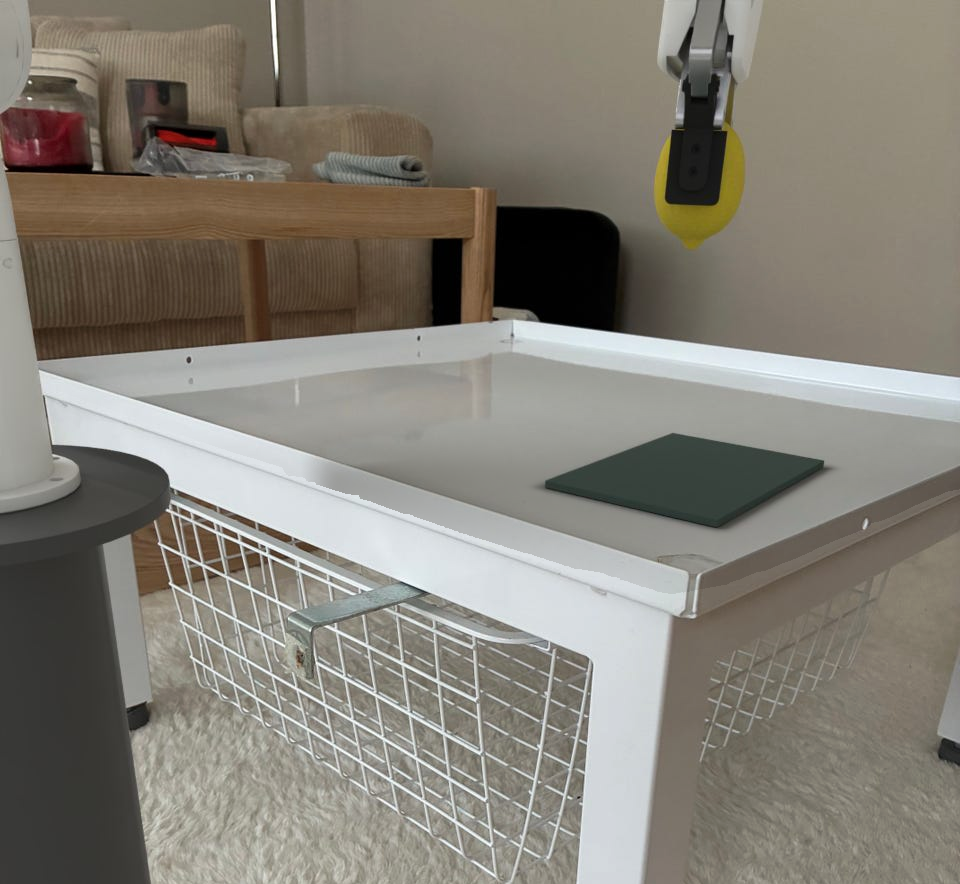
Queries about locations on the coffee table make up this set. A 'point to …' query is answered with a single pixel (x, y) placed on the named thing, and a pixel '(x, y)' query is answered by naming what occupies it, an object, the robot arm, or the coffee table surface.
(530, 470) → the coffee table surface
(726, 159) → the lemon
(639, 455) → the edge mat
